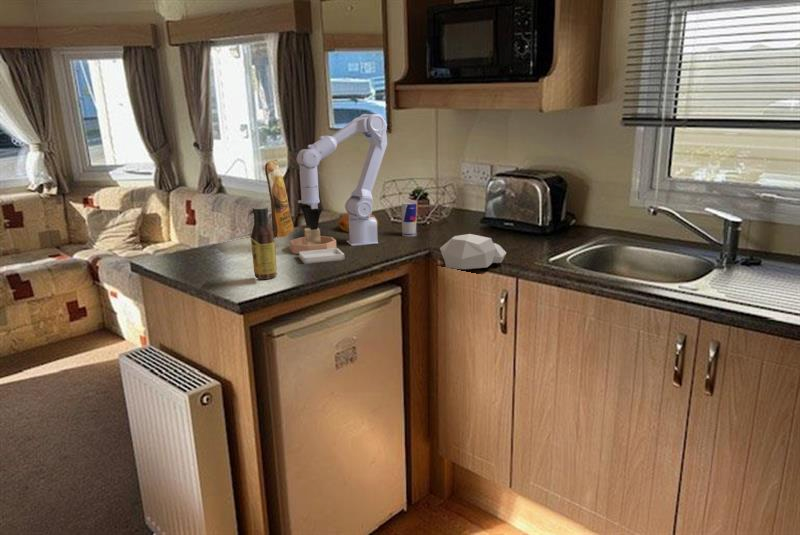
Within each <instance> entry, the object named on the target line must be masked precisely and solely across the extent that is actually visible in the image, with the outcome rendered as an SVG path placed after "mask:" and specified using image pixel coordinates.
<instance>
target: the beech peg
mask: <svg viewBox="0 0 800 535" xmlns="http://www.w3.org/2000/svg"><path fill="white" fill-rule="evenodd" d="M303 230H304V237H305V245H317V244H321V239H320V236H321V229H320V228H319V227H318V228H317V230H311V229H310V227H307V228H304V229H303Z"/></svg>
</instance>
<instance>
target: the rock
mask: <svg viewBox="0 0 800 535" xmlns="http://www.w3.org/2000/svg"><path fill="white" fill-rule="evenodd" d="M439 250H440V253H441V256H442V257H443V261H444V263H445V268H446V269H452V270H453V269H456V270H472V269H481V268H482V269H483V268H485V269H486V268H488V267H489V266H491V265H492V264H495V263H496V264H499V263H500V264H501V263H502V262H503V260H504V259H505V256H506V255H507V251H505V249H504V248H503V247H502V246H501V245H500V244H498V243H495V242H493V239H492V238H491V237H486V236H482V235H479V234H478V235H477V234H473V233H472V234H471V233H467V234H460V235H454V236H453V237H451V238H450V239H449V240H447V242H445V244H443V245H441V247H439Z"/></svg>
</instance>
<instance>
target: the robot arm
mask: <svg viewBox="0 0 800 535" xmlns="http://www.w3.org/2000/svg"><path fill="white" fill-rule="evenodd" d="M387 126H388V123H387V122H386V120H385V119H384V116H383V115H381V114H380V113H369V114H368V113H363V114H360V116H358V117H355V118H354V119H353V120H351V121H349V122H348V123H347V124H346V125H344V126H343V127H341V128H340V129H339V130H338V131H336V132H335V133H334V134H333V135H331V136H330V135H328V134H327V135H320V136H319V137H318V140H317V141H315V142H314V143H312V144H308V145H307V148H303V149H300V150H299V152H298V153H297V155H296V158H295V160H296V162H297V165H299V181H300V182H299V183H300V195H301V196H300V197H301V199H300V200H299V199H298V200H297V203H298V204H300V205H299V207H300V209H301V211H302V214H303V217H304V222H305V225H306V227H309V228H310V229H311V230H317V228H319V222H320V218H321V217H320V216H321V213H322V212H323V208H322V207H320V208H319V205H318V204H320V202H321V201H320V195H319V194H320V193H319V192H320V190H319V176H318V175H319V174H318V172H319V171H318V166H319V165H320V161H323V160H324V159H325V158H326V157H328V156H330V155H331V154H332V153H333V152H335V151H336V150H337V147H338V145H339V144H341V143H342V142H344V141H346V140H348V139H349V138H350V137H352V136H353V135H355V134H357V133H359V134H360V133H362V134H363V135H364V136H365V138H366V139H367V140H368V142H369V149H368V152H367V154H366V158H365V161H364V164H363V167H362V169H361V173H360V176H359V179H358V182H357V185H356V188H355V189H354V190H353V191H352V192H351V194H350V197H349V198H348V199H347V201H346V202H345V205H344V209H345V212H346V214H347V213H349V232H348V234H349V239H348V240H346V243H347V244H349V245H350V246H352V247H355V246H356V247H357V246H367V245H376V244H379V241H378V228H377V222H376V219H375V217H376V216H375V217H370V215H371V214H373V213H372V212H373V202H374V197H373V195H372V192H373V189H374V186H375V183H376V181H377V177H378V174H379V171H380V167H381V165H382V161H383V158H384V155H385V152H386V149H387V146H388V135H387Z"/></svg>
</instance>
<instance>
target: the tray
mask: <svg viewBox="0 0 800 535" xmlns="http://www.w3.org/2000/svg"><path fill="white" fill-rule="evenodd" d="M345 256H346V255H345V253H344V252H342V250H340V248H338V247H337V248H332V249H322V250H311V251H300V252H299V254H298V258H299V259H300V260H301V262H302V263H303V264H304V265H307V264H309V265H310V264H317V263H318V264H319V263H327V262H329V263H330V262H338V261H345V260H346V259H345V258H346V257H345Z"/></svg>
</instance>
